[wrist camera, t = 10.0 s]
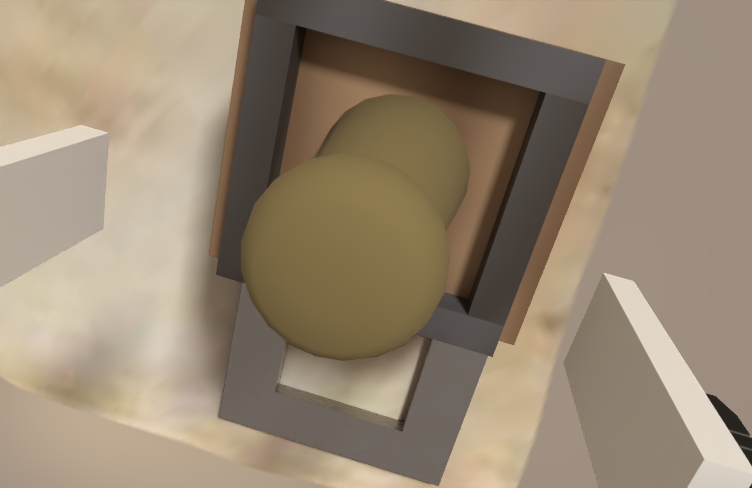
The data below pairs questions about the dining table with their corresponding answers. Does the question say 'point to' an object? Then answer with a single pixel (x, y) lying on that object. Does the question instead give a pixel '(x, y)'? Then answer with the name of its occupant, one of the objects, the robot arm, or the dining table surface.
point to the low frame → (343, 422)
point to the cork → (359, 231)
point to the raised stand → (455, 100)
